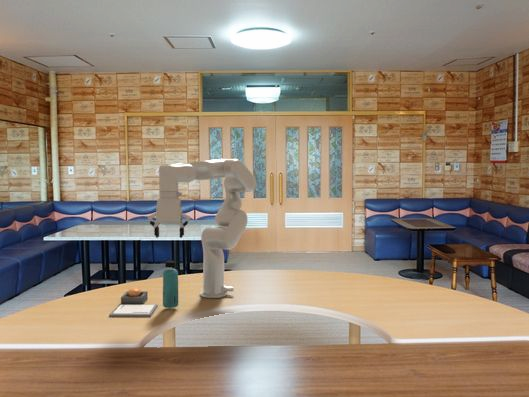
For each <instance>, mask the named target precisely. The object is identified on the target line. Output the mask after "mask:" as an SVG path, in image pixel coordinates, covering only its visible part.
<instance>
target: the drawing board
mask: <svg viewBox="0 0 529 397" xmlns="http://www.w3.org/2000/svg"><path fill="white" fill-rule="evenodd" d="M158 307H159V305H158V304H146V303H144V304H121V303H120V304H118V305H117V306H116V307H115V308H114V309H113V310H112V311H111V313H109V315H108V316H109V317H108V318H114V317H115V318H151V317H152V316H153V314H154V313H155V311H156V310H157V308H158Z"/></svg>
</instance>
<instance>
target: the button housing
mask: <svg viewBox="0 0 529 397" xmlns="http://www.w3.org/2000/svg"><path fill="white" fill-rule="evenodd" d="M147 301H148V291H145V290H144V291H141V295H140V296H138V297H129V290H127V291H125V293H124V294H122V296H121V297H120V304H146V302H147Z"/></svg>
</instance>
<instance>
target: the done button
mask: <svg viewBox="0 0 529 397" xmlns="http://www.w3.org/2000/svg"><path fill="white" fill-rule="evenodd" d="M128 291H129V297H138V296H140V295H141V288H139V287H133V288H130V289H128Z"/></svg>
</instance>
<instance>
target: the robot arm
mask: <svg viewBox="0 0 529 397" xmlns="http://www.w3.org/2000/svg"><path fill="white" fill-rule="evenodd" d="M222 178H224V180H223V186H224V192H225V198H224V200H223V202H222V204H221V206H220V208H219V209H218V211H217V213H216V215H215V217H214V223H215V225H216V226H214V225H213V226H207V227H205V228H204V229H203V230H202V232H201V234H200V235H201V236H200V239H201V245H202V251H203V264H202V267H203V268H202V269H203V272H202V273H203V275H202V282H203V284H202V290H200V292H199V296H200V297H202V298H207V299H219V298H220V299H221V298H224V297H226V296H227V295H228V292H234V289H235V288H234V287H233V286H230V285H229V286H226V283H225V254H224V251H223V250H227V251H229V250H232V249H234V248H235V247H236V246H237V245H238V243H239V241H240V239H241V237H242V236H243V233H244V231H245V229H246V227H247V224H248V214H247V212H245V211H244V210H243V209H241V207H242V204H243V202H242V198H241V195H240V193H241V192H242V193H251V192H253V191H255V189H256V188H257V180H256V177H255V176H254V173H252V171H251V170H250V169H249V168H248V167H247V165H245V163H244V162H243V161H242V160H239V159H237V158H220V159H219V158H218V159H210V160H208V159H207V160H199V161H192V162H191V161H190V162H183V163H182V162H181V163H172V164H162V165H159V167H158V191H159V192H158V193H159V194H158V196H159V198H157V200H156V201H157V202H156V211H155V212H154V213H152V214H151V215H149V216H147V220H148V222H149V224H150V225H151V226H152V227H153V228H154V229H153V230H154V236H155V238H156V239H158V238H159V237H160V227H159V225H160V224H178V226H179V238H180V239H182V238H183V236H185V227H186V226H187V225H188V224H189V222H190V220H191V216H190V215H188V214H186V213H184V212H183V208H182V207H183V206H182V201H181V198H179V197H182V196H183V193H182V192H180V191H179V183H191V182H193V181H194V180H195V181H206V180H214V179H222ZM153 218H155V221H154V220H153ZM183 218H184V219H185V221H184V223H183Z"/></svg>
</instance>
